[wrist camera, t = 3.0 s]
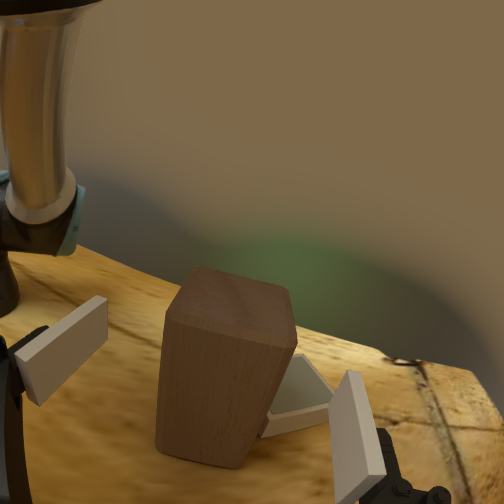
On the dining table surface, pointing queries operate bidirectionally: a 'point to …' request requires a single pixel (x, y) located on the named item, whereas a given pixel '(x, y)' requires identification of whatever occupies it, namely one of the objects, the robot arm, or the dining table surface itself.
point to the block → (221, 365)
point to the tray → (298, 400)
